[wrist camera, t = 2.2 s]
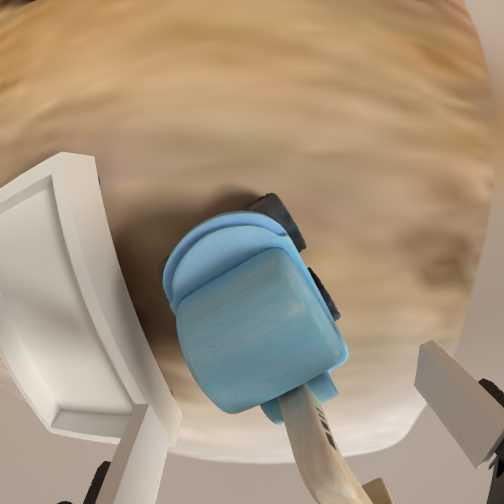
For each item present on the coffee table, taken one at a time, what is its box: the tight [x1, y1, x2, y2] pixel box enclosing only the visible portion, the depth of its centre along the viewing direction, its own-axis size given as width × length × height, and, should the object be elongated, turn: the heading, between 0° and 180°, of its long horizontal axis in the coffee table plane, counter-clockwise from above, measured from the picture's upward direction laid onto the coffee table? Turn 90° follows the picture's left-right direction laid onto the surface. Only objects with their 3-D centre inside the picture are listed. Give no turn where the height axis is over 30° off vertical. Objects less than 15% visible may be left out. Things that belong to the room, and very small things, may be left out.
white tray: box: [0, 152, 182, 447], centre depth 17 cm, size 22×15×6 cm
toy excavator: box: [158, 193, 395, 504], centre depth 12 cm, size 9×17×17 cm, turn 30°
